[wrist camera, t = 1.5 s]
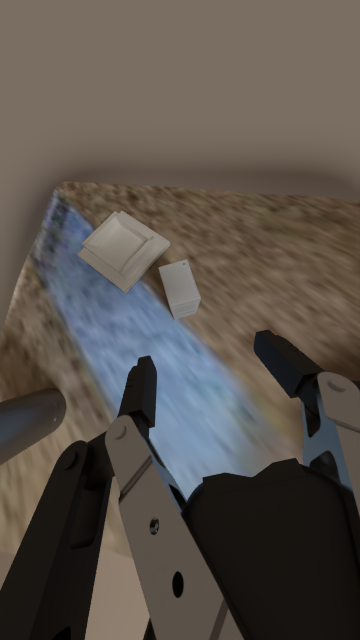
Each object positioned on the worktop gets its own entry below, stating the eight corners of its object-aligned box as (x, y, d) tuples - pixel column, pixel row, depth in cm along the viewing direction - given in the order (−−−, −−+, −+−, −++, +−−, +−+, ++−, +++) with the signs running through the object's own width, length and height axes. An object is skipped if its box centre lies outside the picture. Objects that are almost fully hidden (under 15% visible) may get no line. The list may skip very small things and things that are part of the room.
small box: (165, 291, 34) (157, 266, 23) (186, 285, 34) (187, 257, 23) (174, 320, 32) (168, 307, 22) (196, 314, 32) (201, 298, 22)
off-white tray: (126, 293, 34) (119, 287, 30) (79, 257, 37) (68, 247, 33) (170, 244, 36) (168, 234, 33) (123, 214, 39) (117, 201, 36)
